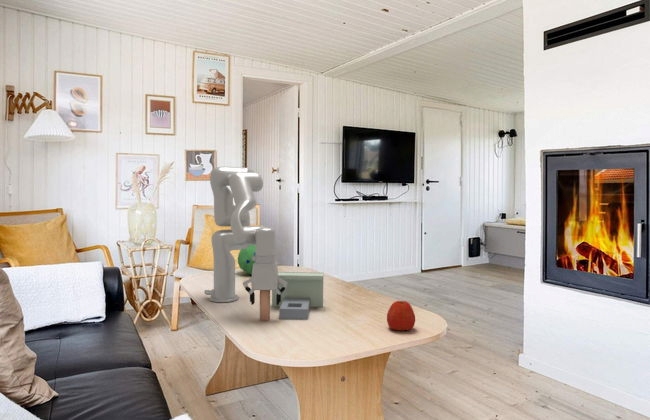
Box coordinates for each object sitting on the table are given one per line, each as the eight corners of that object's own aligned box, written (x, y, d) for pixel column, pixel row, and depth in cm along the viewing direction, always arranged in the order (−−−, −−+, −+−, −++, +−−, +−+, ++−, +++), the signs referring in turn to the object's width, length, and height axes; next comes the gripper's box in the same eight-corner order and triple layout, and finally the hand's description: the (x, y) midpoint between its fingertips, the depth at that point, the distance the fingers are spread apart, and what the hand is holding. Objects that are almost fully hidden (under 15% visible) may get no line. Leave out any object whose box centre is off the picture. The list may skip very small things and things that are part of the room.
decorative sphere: (266, 285, 254) (250, 270, 239) (241, 274, 264) (224, 259, 249) (282, 257, 261) (268, 241, 246) (258, 248, 271) (242, 232, 256)
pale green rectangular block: (270, 309, 183) (270, 275, 182) (272, 305, 190) (272, 271, 189) (322, 310, 182) (323, 275, 182) (323, 305, 189) (323, 272, 188)
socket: (279, 318, 170) (279, 308, 170) (284, 306, 187) (284, 297, 187) (307, 319, 170) (307, 309, 169) (310, 307, 187) (310, 297, 187)
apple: (396, 335, 153) (396, 305, 152) (381, 326, 162) (381, 298, 162) (420, 331, 157) (421, 302, 156) (404, 323, 166) (404, 296, 166)
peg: (258, 320, 167) (258, 289, 166) (260, 317, 171) (260, 287, 170) (269, 321, 167) (269, 290, 166) (270, 318, 171) (270, 287, 170)
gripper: (240, 261, 164) (241, 306, 165) (286, 261, 164) (286, 306, 164) (244, 258, 172) (245, 301, 172) (288, 258, 171) (288, 301, 172)
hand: (265, 303), depth 168 cm, fingers open, 9 cm apart
